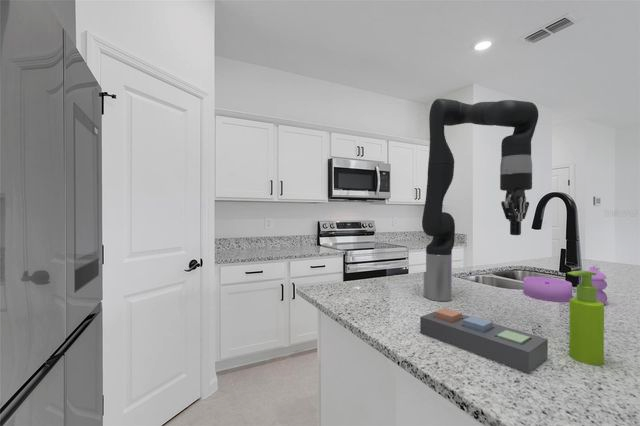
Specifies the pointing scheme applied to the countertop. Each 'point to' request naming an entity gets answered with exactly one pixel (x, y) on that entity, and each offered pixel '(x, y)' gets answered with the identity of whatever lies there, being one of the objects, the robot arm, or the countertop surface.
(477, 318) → the slate blue button
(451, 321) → the terracotta button
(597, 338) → the soap dispenser
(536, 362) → the button panel
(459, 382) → the countertop surface
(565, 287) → the container set
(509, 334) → the sage green button
